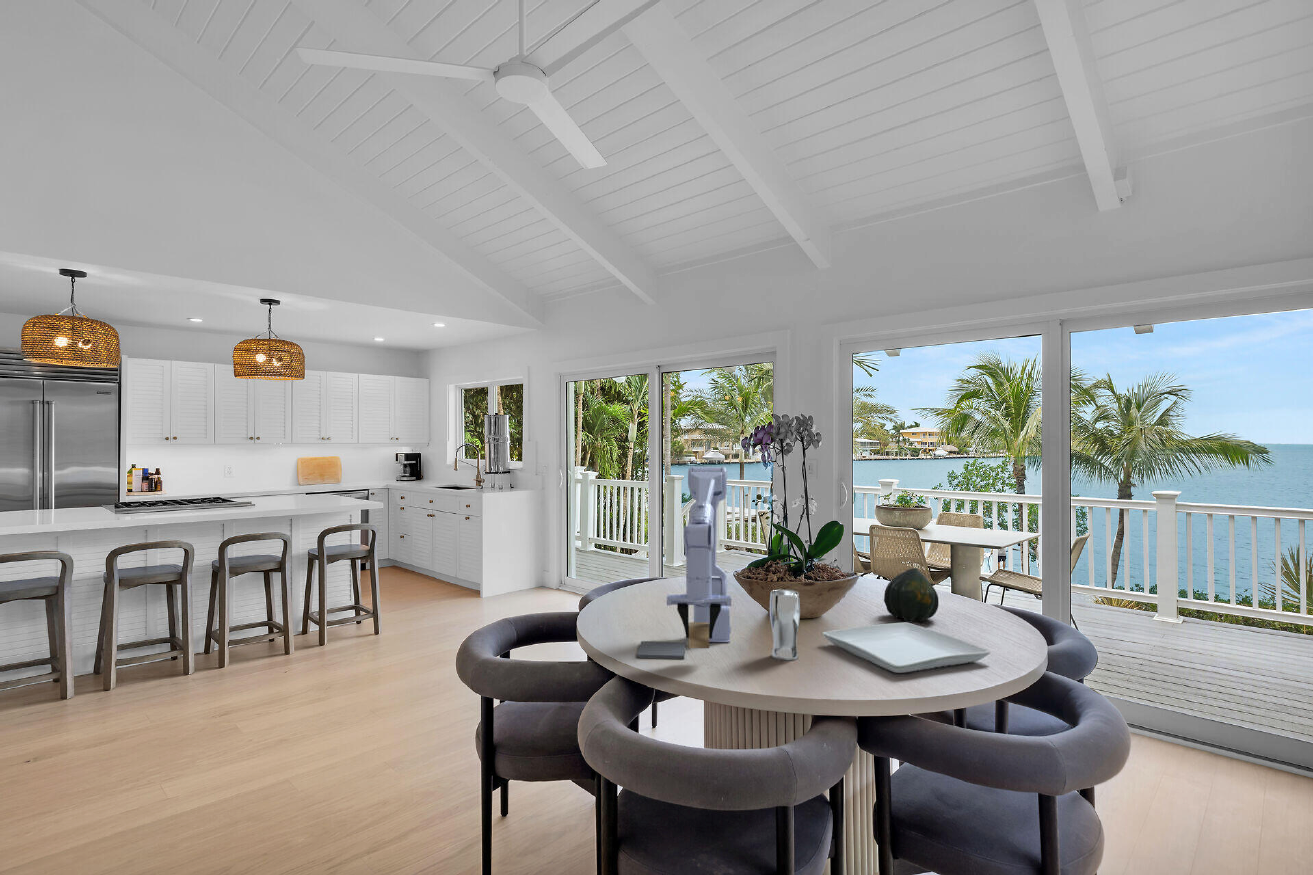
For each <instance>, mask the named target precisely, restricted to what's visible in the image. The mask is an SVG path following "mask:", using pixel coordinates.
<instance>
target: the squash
mask: <svg viewBox="0 0 1313 875" xmlns="http://www.w3.org/2000/svg"><path fill="white" fill-rule="evenodd" d="M883 601H884V603H885V604H884V605H885V607H886V610H887V612H888V613H889V614H890V615H892V616H894V617H896V618H903V619H904V620H905V622H907V621H908V622H907V623H913V622H914V621H915V622H918V621H921V622H923V621H926V620H927V619H930V618H932V617H934V616H935V614H936V613H937V611H938V609H939V595H938V592H937V590H936V589H935V587H934V586H933V585H932V584H931V583H930V581H929V580H928V579H927V578H926V577H925V575H924V574H923V573H922V572H921V570H919V569H918V568H917V567H914V568H910V569H907V570H905V571H903V572H901V573H900V574H897V575H896V576H895V577H893V578H892V579H891V580H890V581H889V582H888V584H887V585H886V587H885V590H884V597H883ZM912 621H913V622H912Z"/></svg>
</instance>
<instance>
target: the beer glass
mask: <svg viewBox="0 0 1313 875" xmlns="http://www.w3.org/2000/svg"><path fill="white" fill-rule="evenodd" d="M769 596H770V597H769V598H770V599H769V619H770V626H771V631H772V638H773V644H772V645H773V647H772V651H771V652H772V653H771V656H772V658H773V659H774V660H778V661H788V662H789V661H796V660H798V658H799V653H798V648H797V639H798V638H797V637H798V631H799V624H800V617H801V607H800V606H801V605H800V604H801V603H800V592H798V591H797V590H793V589H792V590H791V589H774V590H771V591H770V595H769Z"/></svg>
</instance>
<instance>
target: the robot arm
mask: <svg viewBox="0 0 1313 875" xmlns="http://www.w3.org/2000/svg"><path fill="white" fill-rule="evenodd" d="M687 485H688V490H689V495H690V496H691V498H692V499H693V500H695V502H694V503H693V504H691V506H690V509H689V516H688V521H687V523H688V524H687V525H684V528H683V546H684V556H685V558H686V561H685V562H686V563H685V567H686V569H685V570H686V573H685V576H686V577H685V579H686V582H685V584H686V590H685V591H686V593H684V594H667V595H666V606H672V605H673V606H674V605H675V606H676V605H677V606H676V610H677V613H678V615H679V617H680V620H681V621H682V625H683V628H684V632H685V638H686V639H689V619H690V618H689V612H690V611H689V608H690V607H689V606H693V622H706V623H709V643H730V634H731V633H732V631H731V629H732V628H731V624H730V621H731V620H730V616H731V615H730V614H731V613H730V607H732V596H731V595H728V580H727V577H728V576H727V573H726V571H725V570H724V569H723V568H721V567H720V566H719V565H718V564H717V537H718V536H717V532H718V531H717V530H718V528H717V527H718V525H717V524H718V507H719V504H720V502H721V501H724V500H725V499H726V497H727V494H728V493H727V491H728V489H727V488H728V470H727V468H726V466H722V467H721V466H690V467H689V468H688V471H687Z"/></svg>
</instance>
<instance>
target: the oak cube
mask: <svg viewBox="0 0 1313 875" xmlns="http://www.w3.org/2000/svg"><path fill="white" fill-rule="evenodd" d="M688 648H689V649H710V642H709V623H706V622H694V621H693V622H692V621H691V622H689V638H688Z"/></svg>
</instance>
